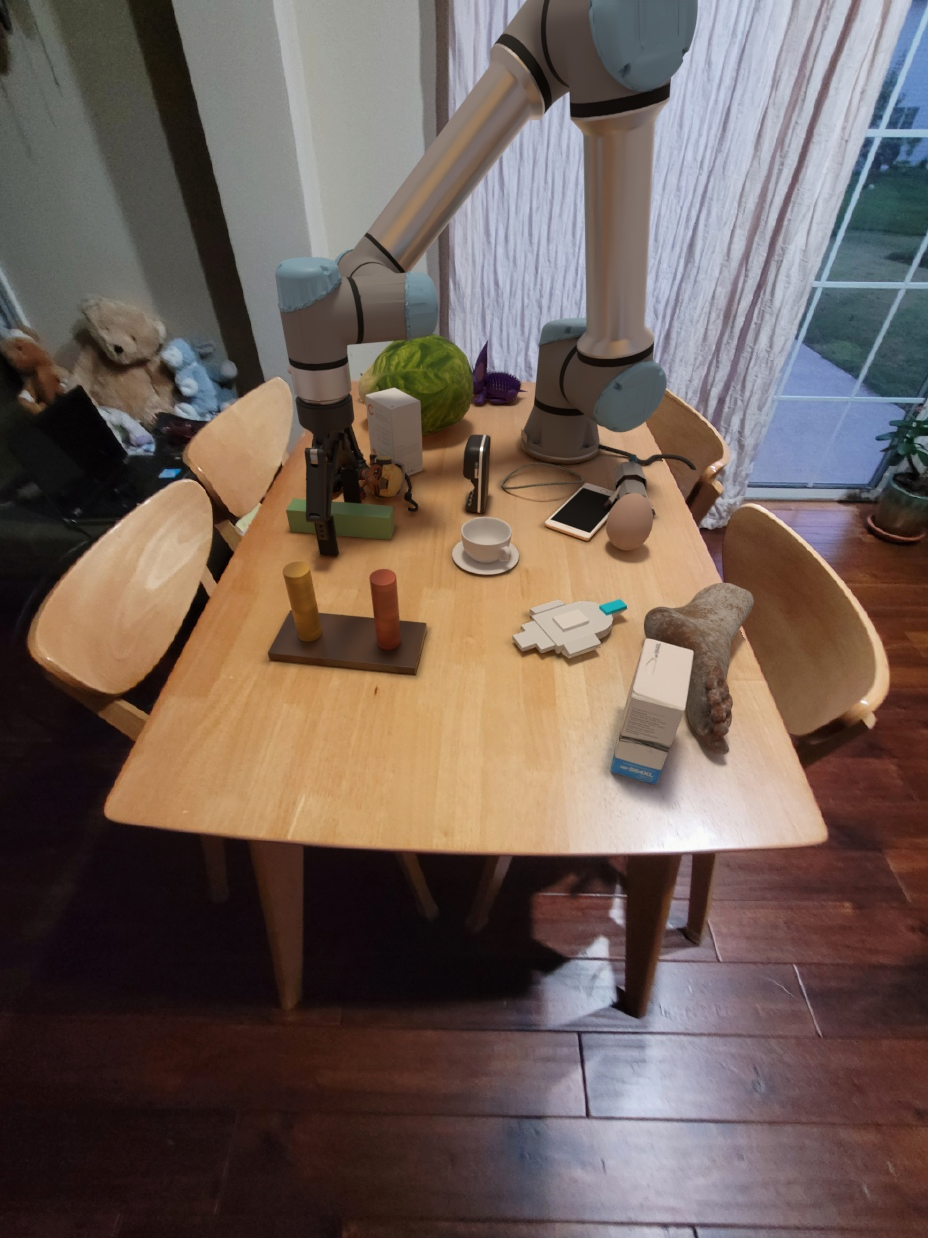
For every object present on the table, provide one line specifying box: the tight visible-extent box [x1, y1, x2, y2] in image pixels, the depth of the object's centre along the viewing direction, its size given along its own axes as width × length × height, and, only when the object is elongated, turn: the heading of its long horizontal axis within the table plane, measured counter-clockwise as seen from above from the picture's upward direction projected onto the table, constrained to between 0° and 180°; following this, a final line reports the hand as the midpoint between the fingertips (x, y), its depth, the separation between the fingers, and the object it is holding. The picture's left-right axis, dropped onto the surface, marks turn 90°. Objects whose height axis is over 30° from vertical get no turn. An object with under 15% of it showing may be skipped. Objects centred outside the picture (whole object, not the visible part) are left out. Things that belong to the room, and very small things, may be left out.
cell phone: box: [544, 482, 618, 541], centre depth 97 cm, size 8×16×1 cm, turn 147°
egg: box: [605, 493, 654, 551], centre depth 86 cm, size 7×7×9 cm
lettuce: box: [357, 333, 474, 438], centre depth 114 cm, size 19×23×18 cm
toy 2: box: [604, 453, 657, 517], centre depth 96 cm, size 9×6×15 cm
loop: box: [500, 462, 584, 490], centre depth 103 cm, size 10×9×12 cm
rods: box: [267, 561, 428, 675], centre depth 69 cm, size 18×8×11 cm, turn 83°
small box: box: [365, 388, 424, 477], centre depth 103 cm, size 8×6×13 cm
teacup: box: [451, 516, 520, 575], centre depth 86 cm, size 10×10×5 cm
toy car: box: [327, 463, 360, 494], centre depth 102 cm, size 8×12×4 cm
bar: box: [285, 498, 396, 541], centre depth 91 cm, size 16×4×4 cm, turn 83°
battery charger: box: [462, 433, 492, 514], centre depth 95 cm, size 7×4×11 cm, turn 172°
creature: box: [471, 339, 529, 406], centre depth 128 cm, size 9×18×12 cm, turn 96°
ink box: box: [609, 638, 694, 785], centre depth 58 cm, size 9×5×12 cm, turn 158°
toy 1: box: [342, 448, 420, 513], centre depth 97 cm, size 8×9×15 cm
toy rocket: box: [511, 598, 629, 659], centre depth 74 cm, size 16×10×2 cm, turn 115°
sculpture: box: [643, 582, 755, 755], centre depth 67 cm, size 8×22×15 cm
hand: (342, 529), depth 92 cm, fingers open, 13 cm apart
